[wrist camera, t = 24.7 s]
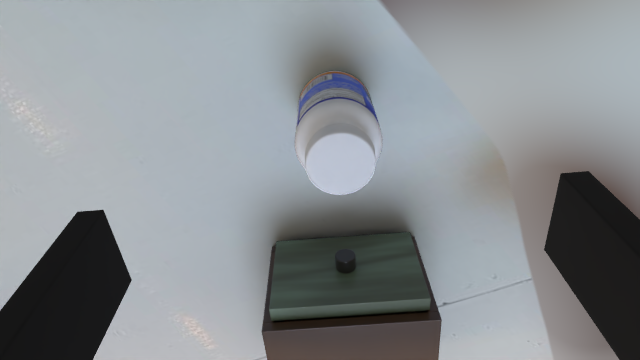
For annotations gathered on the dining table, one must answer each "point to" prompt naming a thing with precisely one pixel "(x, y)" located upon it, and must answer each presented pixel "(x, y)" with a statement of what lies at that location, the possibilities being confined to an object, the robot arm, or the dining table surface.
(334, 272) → the drawer
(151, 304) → the dining table surface
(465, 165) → the dining table surface
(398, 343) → the cabinet
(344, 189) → the pill bottle
